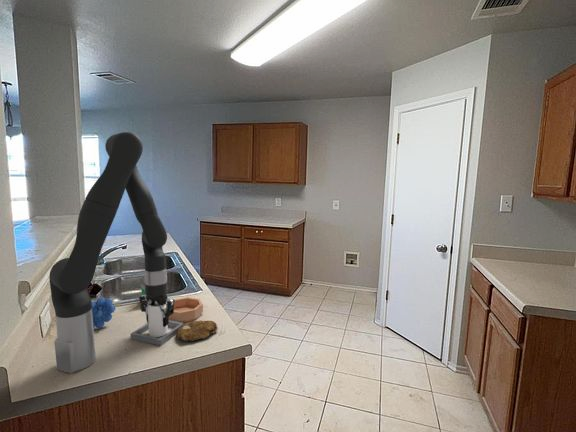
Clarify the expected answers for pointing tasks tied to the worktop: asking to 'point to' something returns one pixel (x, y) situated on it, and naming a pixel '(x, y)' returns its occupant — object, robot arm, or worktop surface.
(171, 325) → the tray
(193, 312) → the bowl
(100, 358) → the worktop surface
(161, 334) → the can
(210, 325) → the decorative rock
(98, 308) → the grapes
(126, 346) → the worktop surface
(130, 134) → the robot arm
